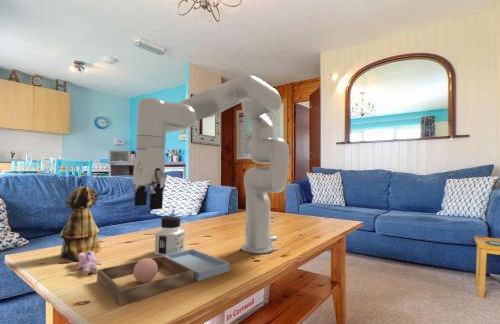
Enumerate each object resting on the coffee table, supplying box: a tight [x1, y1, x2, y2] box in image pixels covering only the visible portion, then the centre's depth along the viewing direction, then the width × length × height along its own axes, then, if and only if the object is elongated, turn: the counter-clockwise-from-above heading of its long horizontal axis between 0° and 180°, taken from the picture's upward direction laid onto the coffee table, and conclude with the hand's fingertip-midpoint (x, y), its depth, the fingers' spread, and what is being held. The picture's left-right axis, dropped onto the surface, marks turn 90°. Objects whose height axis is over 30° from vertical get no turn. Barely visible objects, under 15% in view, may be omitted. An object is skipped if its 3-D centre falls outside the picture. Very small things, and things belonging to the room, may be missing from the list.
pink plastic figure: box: [76, 251, 102, 278], centre depth 78 cm, size 6×6×15 cm
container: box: [154, 215, 186, 256], centre depth 95 cm, size 8×8×13 cm
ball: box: [132, 257, 159, 284], centre depth 69 cm, size 6×6×6 cm
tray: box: [164, 248, 231, 282], centre depth 81 cm, size 11×20×2 cm, turn 45°
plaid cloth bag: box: [58, 185, 102, 262], centre depth 91 cm, size 14×14×25 cm
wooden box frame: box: [96, 255, 195, 306], centre depth 69 cm, size 18×17×3 cm
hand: (147, 207), depth 71 cm, fingers open, 9 cm apart
